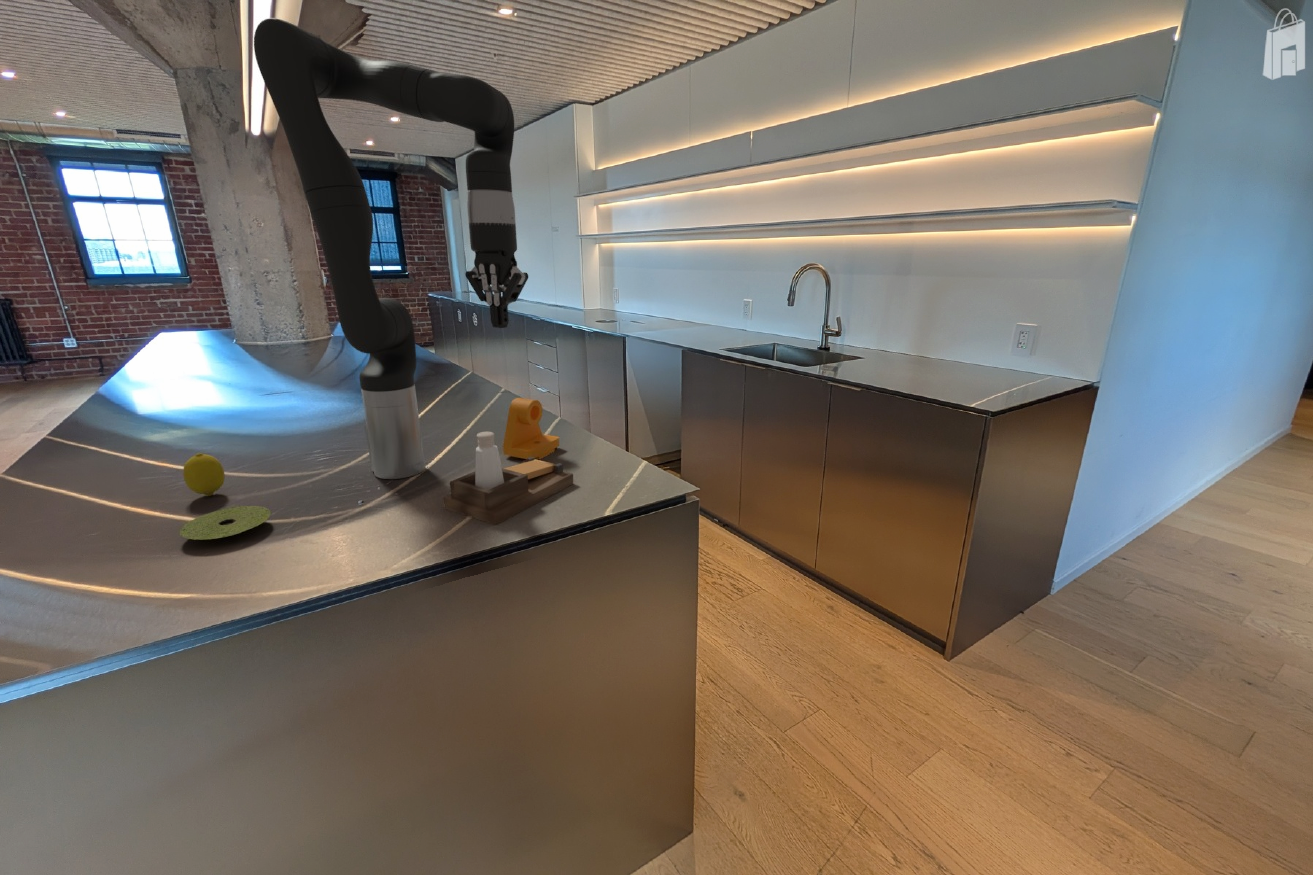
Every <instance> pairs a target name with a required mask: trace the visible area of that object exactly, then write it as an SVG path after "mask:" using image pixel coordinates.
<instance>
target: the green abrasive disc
mask: <svg viewBox="0 0 1313 875" xmlns="http://www.w3.org/2000/svg"><path fill="white" fill-rule="evenodd" d="M271 513H272V512H271V511H270V509H269V508H267V507H264V506H260V505H259V506H258V505H242V506H240V505H238V506H234V507H229V508H227V507H226V508H225V509H218V510H216V511H212V512H209V513H205V514H204V515H199V516H198V517H195V518H193V519H191V520H190V521H188V522H186V523H185V524H184V525H183V526H182V527H181V528H180V530H179V535H180V536H181V537H183V538H185V539H191V540H194V541H195V540H200V541H201V540H213V539H220V538H226V537H230V536H231V537H232V536H234V535H237V534H241V533H242V532H246V531H248V530H250V529H253V528H255V527H258V526H259V525H262V524H263V523H264V522H265V521H266V520H268V519H269V518H270V515H272V514H271Z"/></svg>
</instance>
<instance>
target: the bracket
mask: <svg viewBox="0 0 1313 875" xmlns="http://www.w3.org/2000/svg"><path fill="white" fill-rule="evenodd" d="M542 416H543V406H542V403H541V401H539V400H538V399H531V398H530V399H529V398H523V397H516V398H514V399H513V400H512V401H511V403H510V405H509V408H508V415H507V420H506V427H505V432H504V437H503V438H504V439H503V446H502V450H503V455H504V456H508V457H514V458H519V459H525V460H527V458H529V457H535V459H536V460H538V459H540V460H541V458H542V459H543V457H544V456H545V457H547V456H549V455H551V454H553V453H555V452H554V451H555V449H556V448H559V446H560V437H559V436H556V435H549V434H544V433H542V430H541V427H540V421H541V420H542ZM552 452H553V453H552ZM550 453H551V454H550ZM548 454H549V455H548ZM545 457H544V458H545Z"/></svg>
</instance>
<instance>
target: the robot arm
mask: <svg viewBox="0 0 1313 875" xmlns="http://www.w3.org/2000/svg"><path fill="white" fill-rule="evenodd" d="M253 50H254V55H255V60H256V63H257V67H258V69H259V72H260V74H261V77H262V79H263V82H264V84H265V87H266V89H267V92H268V94H269V97H270V98H271V100H272V103H273V105H274V109H275V110H276V113H277V115H278V117H279V120H280V123H281V126H282V128H283V130H284V133H285V135H286V136H285V137H286V139H287V142H288V144H289V148H290V150H291V154H292V157H293V160H294V162H295V163H294V164H295V165H296V169H297V171H298V174H299V179H300V181H301V186H302V188H303V192H304V193H303V194H304V196H305V199H306V203H307V206H308V208H309V211H310V215H311V218H312V220H313V223H314V226H315V229H316V231H317V235H318V238H319V242H320V245H321V249H322V253H323V256H324V259H325V262H326V265H327V269H328V273H329V277H330V282H331V286H332V290H333V295H334V301H335V305H336V311H337V316H338V320H339V323H340V327H341V330H342V333H343V335H344V337H345V339H346V341H347V342H348V344H350V346H352V347H353V348H354V349H355V350H356V351H358V352H360V353H362V354H369V358H368V361H367V363H366V365H365V367H364V368H363V369H362V370H361V371H360V373H359V377H358V378H359V384H360V390H361V397H362V403H363V409H364V415H365V422H366V424H365V425H364V429H365V435H366V436H365V437H366V442H367V443H366V444H367V449H368V454H369V455H368V456H369V461H370V469H371V471H372V472H373V473H374V477H377V478H379V479H383V480H397V479H405V478H409V477H412V476H416V475H418V474H421V473H422V472H423V471H424V470H425V469H426V466H425V465H426V464H425V458H424V448H423V440H422V434H421V433H422V432H421V424H420V416H419V410H418V400H417V392H416V386H415V373H416V370H417V352H416V339H415V338H416V337H415V328H414V324H413V319H412V316H411V313H410V312H409V310H408V309H407V307H406V306H405V305H404V304H403V303H402V302H400V301H399V300H397V299H395V298H391V297H381V298H379V296H378V292H377V290H376V286H375V283H374V280H373V277H372V276H373V275H372V272H371V251H372V244H373V243H372V242H373V234H374V219H373V218H374V217H373V214H372V213H373V212H372V209H371V206H370V202H369V198H368V195H367V192H366V191H367V190H366V187H365V184H364V181H363V179H362V177H361V175H360V173H359V170H358V169H357V167H356V166H355V164H354V163H353V161H352V159H351V157H350V156H349V155H348V153H347V151H346V150H345V149H344V147H343V146H342V145H341V143H340V142H339V140H338V138H337V137H336V136H335V134H334V133H333V131H332V129H331V128H330V126H329V124H328V121H327V120H326V117H325V115H324V113H323V109H322V107H321V104H320V99H329V100H330V99H331V100H349V101H356V102H362V103H363V102H364V103H368V104H372V105H375V106H379V107H382V108H385V109H388V110H391V111H394V112H398V113H401V114H404V115H406V116H407V115H408V116H411V117H414V118H419V119H423V120H426V121H430V122H435V123H448V124H451V125H455V126H457V127H458V126H459V127H462V128H465V129H467V130H470V131H473V133H474V140H473V141H474V144H473V150H472V151H470V152H469V153H467V155H466V157H465V178H466V186H467V188H466V189H467V208H466V209H467V219H468V231H469V240H470V243H469V244H470V250H471V251H472V252H474V253H475V258H474V260H473V261H474V262H473V264H474V266H473V267H472V269H471V270H467V271H466V272H465V273H464V274H465V278H466V279H467V281H468V282H469V284H470V286H471V287H472V289H473V291H474V292H475V294H476V296H477V298H478V299H479V301H480V302H485V303H486V304H487V305H488V306H489V314H490V322H491V325H492V327H493V329H494V328H496V329H504V328H505V329H506V328H507V327H508V324H509V321H510V320H509V308H508V307H509V305H510V304H511V303H515V302H517V300H518V299H519V296H520V295H521V293H522V291H523V289H524V287H525V285H526V283H527V281H528V279H529V274H528V273H527V272H523V271H521V270H520V268H519V267H518V262H517V260H516V257H515V252H517V250H518V242H517V241H518V240H517V227H516V210H515V208H516V207H515V202H514V198H513V187H512V184H513V183H512V172H511V160H512V159H511V158H512V155H513V154H512V153H513V147H514V137H515V117H514V111H513V106H512V104H511V103H510V100H509V98H508V97H507V96H506V95H505V94H504V93H503V92H501V91H500V90H499V89H497V88H495V87H493V86H492V85H491V84H489V83H487V82H485V81H483V79H479V78H477V77H473V76H470V75H469V76H468V75H464V74H456V73H448V72H447V73H446V72H444V73H442V72H438V71H435V70H432V69H429V68H425V67H421V66H417V65H413V64H409V63H405V62H400V61H393V60H390V61H389V60H372V59H366V58H363V57H360V56H357V55H353V54H352V53H350V52H346V51H345V50H344V49H343V50H342V49H340V48H339V47H336V46H335V45H332V44H330V43H329V42H326V41H325V40H323V39H322V38H321V37H319V36H317V35H316V34H315V33H313V32H310V31H308V30H306V29H304V28H301V27H299V26H298V25H296V24H294V23H292V22H290V21H286V20H283V19H280V18H276V17H269V18H264V19H263V20H261V22H259V24H258V25H257V27H256V29H255V31H254V36H253Z"/></svg>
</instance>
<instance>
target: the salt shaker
mask: <svg viewBox="0 0 1313 875" xmlns="http://www.w3.org/2000/svg"><path fill="white" fill-rule="evenodd" d="M476 437H477V438H476V439H477V445H478V446H477V447H476V448H475V471H476V472H475V471H474V472H475V486H478V487H481V488H484V489H488V490H489V489H492V488H494V487H496V486H498V485H500V484H503V483H504V478H503V473H502V469H503V468H502V463H501V457H500V452H499V448H498V446H497V445H495V433H494V432H493V431H481V432H478V433H477V434H476Z"/></svg>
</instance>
